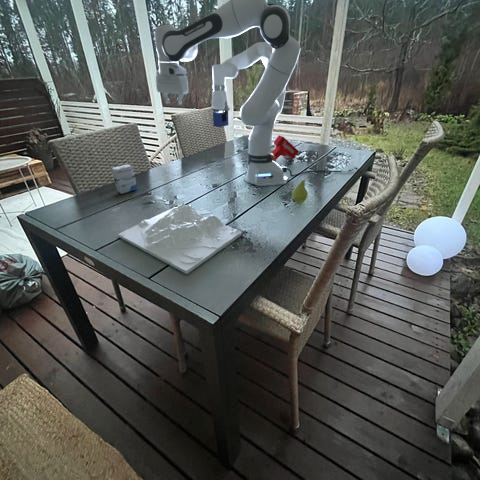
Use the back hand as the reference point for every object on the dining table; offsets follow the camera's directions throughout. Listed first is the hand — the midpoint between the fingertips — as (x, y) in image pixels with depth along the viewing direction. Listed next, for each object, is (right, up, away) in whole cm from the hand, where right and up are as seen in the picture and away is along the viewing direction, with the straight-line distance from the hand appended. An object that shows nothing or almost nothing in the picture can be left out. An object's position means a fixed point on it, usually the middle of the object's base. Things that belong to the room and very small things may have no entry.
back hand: (220, 120), depth 174 cm
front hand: (-20, -11, -44) cm, 49 cm away
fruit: (+39, -60, -52) cm, 88 cm away
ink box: (-44, -52, -40) cm, 79 cm away
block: (0, -3, +2) cm, 3 cm away
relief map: (-9, -75, -76) cm, 108 cm away
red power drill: (+40, -24, +3) cm, 47 cm away
